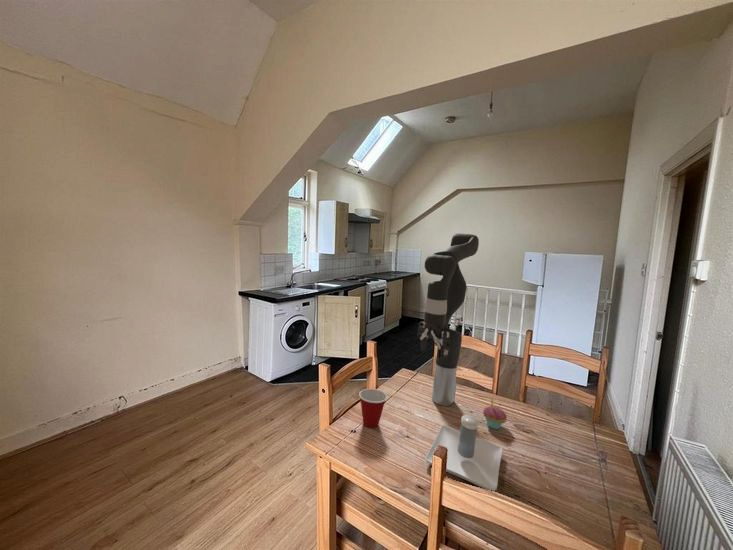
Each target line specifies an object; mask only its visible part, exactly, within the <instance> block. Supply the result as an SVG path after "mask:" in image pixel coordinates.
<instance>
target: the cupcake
mask: <svg viewBox="0 0 733 550" xmlns="http://www.w3.org/2000/svg"><path fill="white" fill-rule="evenodd" d="M490 396H491V398H490V400H491V401H490V402H491V405H490V406H486V407H484V409H483V416H484V418H485V420H486V424H487V426H488V427H489V428H490V429H494V430H498V429H500V427H502V424H505V423H506V422H507V419H508V417H507V414H506V412H505V411H504V410H503V409H502V408H499V407H497V406H494V397H493V395H490Z"/></svg>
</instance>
